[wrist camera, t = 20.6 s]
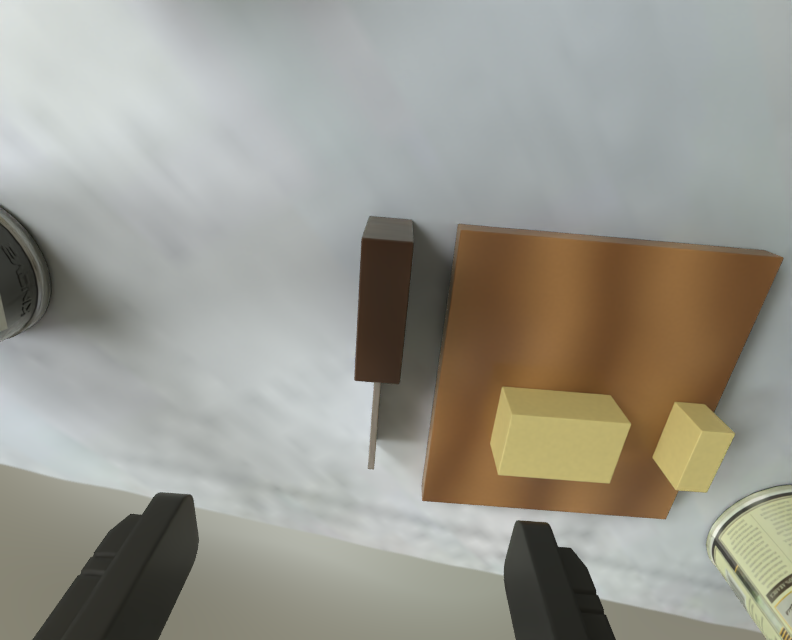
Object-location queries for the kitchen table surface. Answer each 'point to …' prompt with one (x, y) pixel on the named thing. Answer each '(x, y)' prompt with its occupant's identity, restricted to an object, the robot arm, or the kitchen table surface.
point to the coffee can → (758, 557)
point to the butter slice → (692, 446)
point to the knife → (382, 307)
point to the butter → (558, 435)
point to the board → (583, 352)
